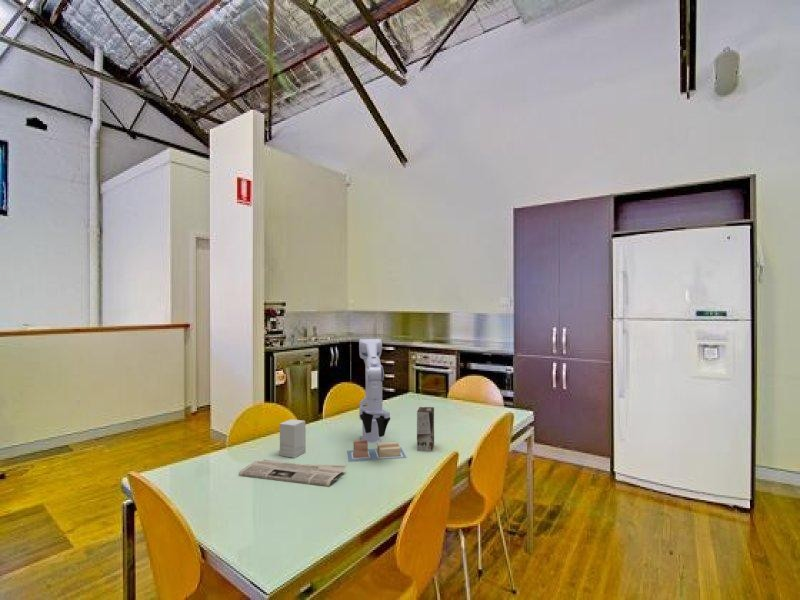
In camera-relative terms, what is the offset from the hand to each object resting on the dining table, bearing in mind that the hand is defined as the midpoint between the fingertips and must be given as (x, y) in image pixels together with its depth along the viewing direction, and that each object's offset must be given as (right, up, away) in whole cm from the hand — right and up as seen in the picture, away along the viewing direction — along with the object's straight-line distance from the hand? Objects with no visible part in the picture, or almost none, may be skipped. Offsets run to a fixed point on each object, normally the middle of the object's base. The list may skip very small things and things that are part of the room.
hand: (374, 434), depth 156 cm
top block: (-6, -9, +3) cm, 11 cm away
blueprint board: (0, -10, +4) cm, 10 cm away
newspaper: (-27, -10, -13) cm, 32 cm away
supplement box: (-33, -10, +6) cm, 35 cm away
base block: (+5, -9, +5) cm, 12 cm away
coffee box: (+20, -10, +12) cm, 25 cm away
